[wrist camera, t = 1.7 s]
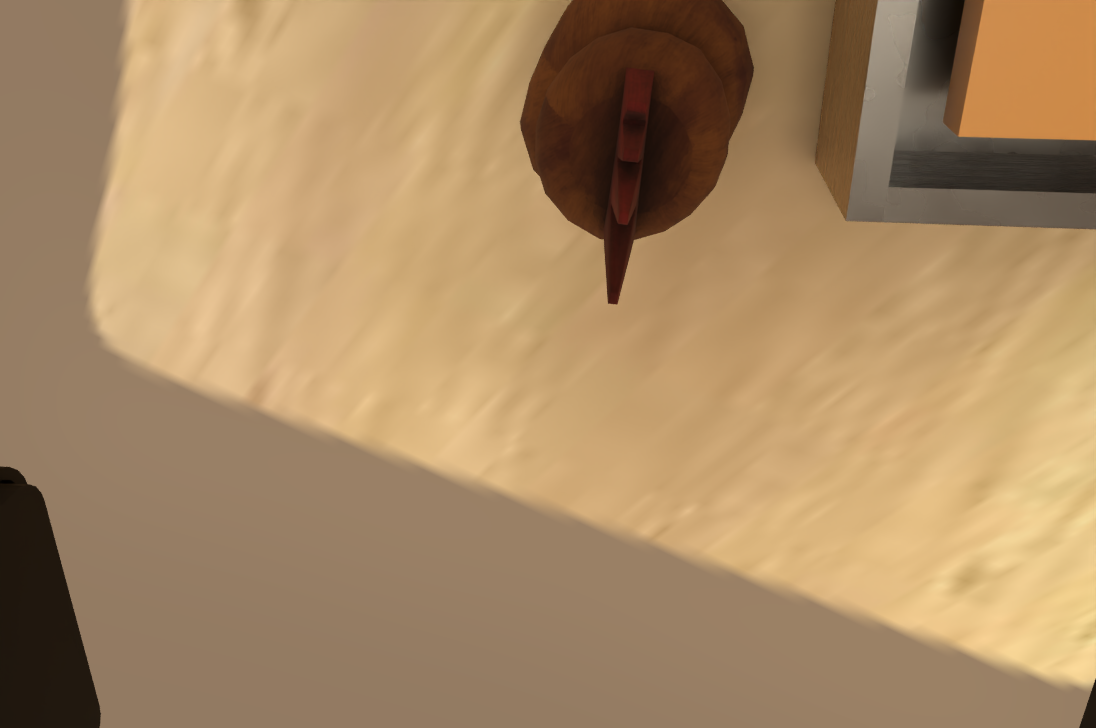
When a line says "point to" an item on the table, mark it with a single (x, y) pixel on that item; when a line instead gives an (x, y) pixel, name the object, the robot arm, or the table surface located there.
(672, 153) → the wooden figurine
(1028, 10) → the button
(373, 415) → the table surface
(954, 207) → the box
